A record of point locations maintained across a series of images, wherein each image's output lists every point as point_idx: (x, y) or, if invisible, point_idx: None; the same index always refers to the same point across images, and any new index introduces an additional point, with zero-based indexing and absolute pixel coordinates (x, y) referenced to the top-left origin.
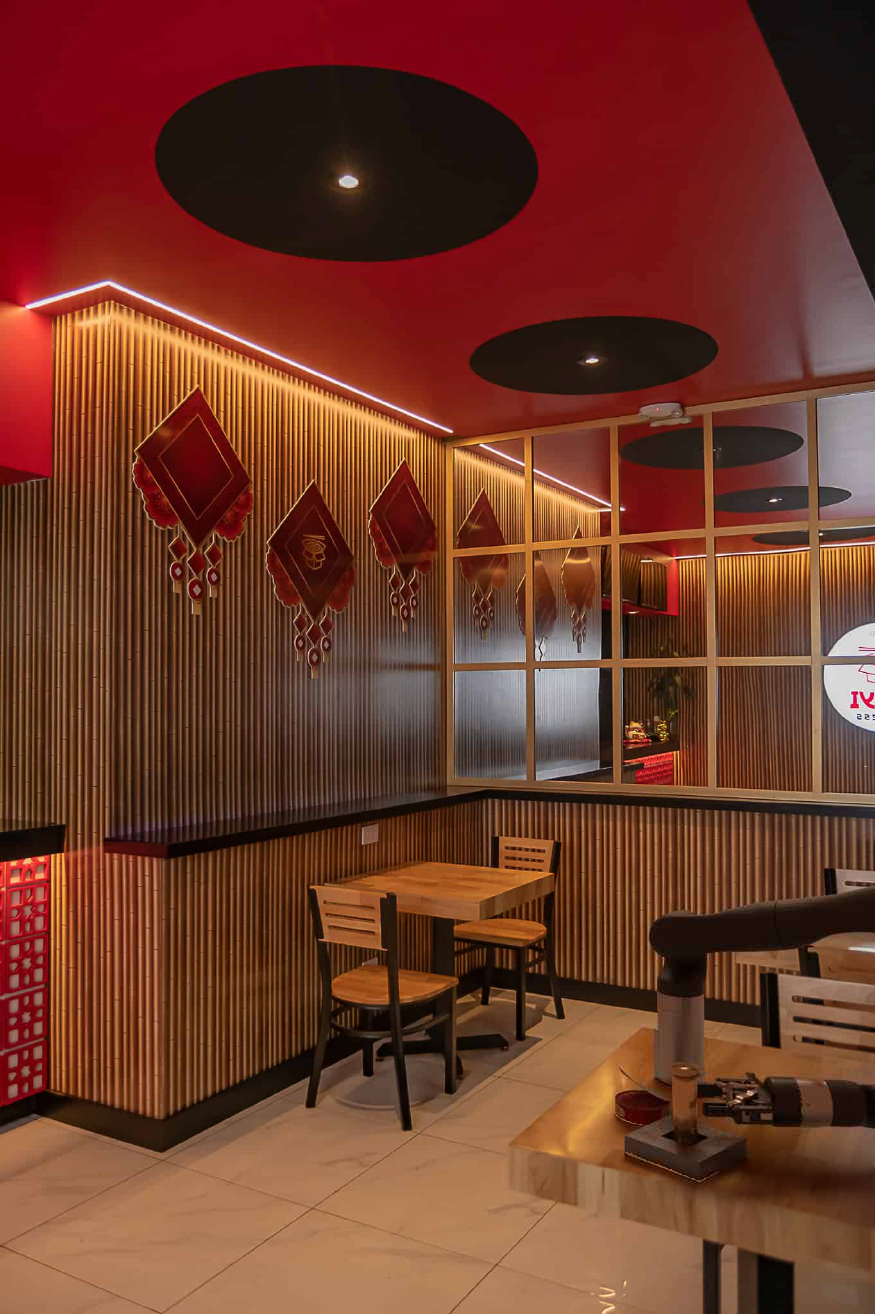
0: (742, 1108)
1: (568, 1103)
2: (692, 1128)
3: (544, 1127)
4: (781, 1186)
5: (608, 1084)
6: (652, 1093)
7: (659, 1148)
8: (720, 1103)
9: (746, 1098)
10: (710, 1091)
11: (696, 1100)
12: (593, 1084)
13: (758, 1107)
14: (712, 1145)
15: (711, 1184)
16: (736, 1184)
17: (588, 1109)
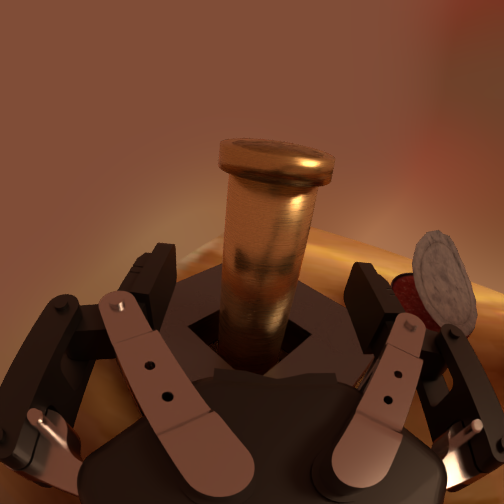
0: (41, 313)
1: (410, 259)
2: (221, 315)
3: (323, 233)
4: (55, 493)
5: (490, 299)
6: (432, 293)
7: (186, 278)
8: (138, 276)
9: (128, 378)
10: (369, 323)
11: (240, 261)
12: (479, 286)
13: (16, 385)
14: (189, 374)
15: (100, 360)
16: (85, 405)
17: (405, 272)
